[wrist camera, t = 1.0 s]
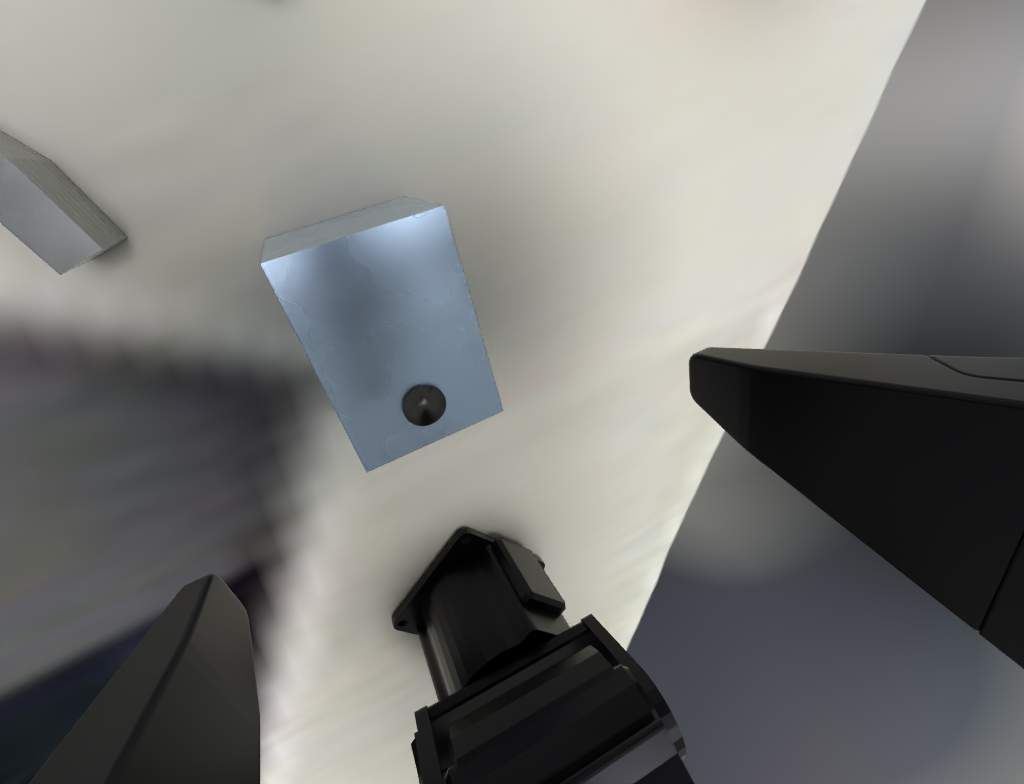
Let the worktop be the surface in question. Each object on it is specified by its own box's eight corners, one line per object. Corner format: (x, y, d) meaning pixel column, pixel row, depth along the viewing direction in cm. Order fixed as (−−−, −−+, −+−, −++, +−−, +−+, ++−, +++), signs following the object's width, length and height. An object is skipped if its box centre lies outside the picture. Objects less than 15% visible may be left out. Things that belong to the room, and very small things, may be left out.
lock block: (347, 407, 20) (367, 475, 15) (264, 238, 16) (259, 265, 12) (458, 362, 21) (505, 413, 16) (404, 196, 17) (446, 205, 13)
